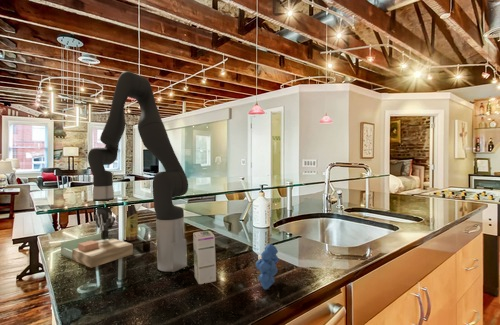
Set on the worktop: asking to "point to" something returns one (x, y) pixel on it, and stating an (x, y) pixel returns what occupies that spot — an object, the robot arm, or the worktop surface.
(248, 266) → the worktop surface
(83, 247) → the terracotta tile
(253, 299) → the worktop surface
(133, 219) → the sauce bottle
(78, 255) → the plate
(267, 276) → the grapes
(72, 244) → the box
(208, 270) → the syrup box
